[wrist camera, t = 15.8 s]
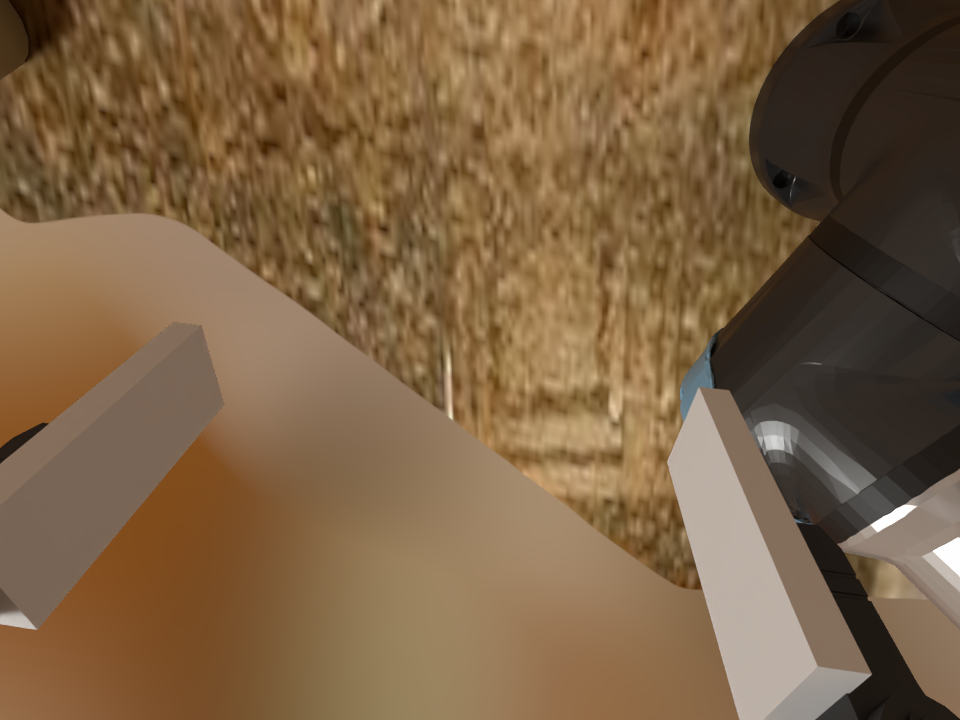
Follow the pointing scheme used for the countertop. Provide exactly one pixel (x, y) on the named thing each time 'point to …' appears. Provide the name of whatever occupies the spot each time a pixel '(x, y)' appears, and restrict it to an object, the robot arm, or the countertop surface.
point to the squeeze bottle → (11, 39)
